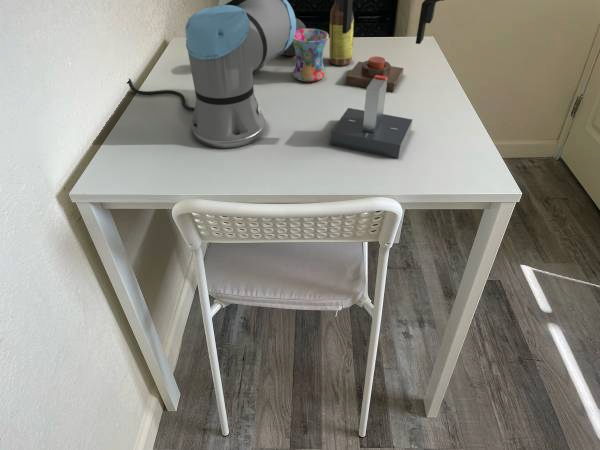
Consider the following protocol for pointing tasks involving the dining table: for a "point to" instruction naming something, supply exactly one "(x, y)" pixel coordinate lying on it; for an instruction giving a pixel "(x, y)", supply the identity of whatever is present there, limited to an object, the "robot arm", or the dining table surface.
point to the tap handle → (374, 103)
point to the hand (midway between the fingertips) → (382, 36)
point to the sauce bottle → (340, 38)
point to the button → (376, 62)
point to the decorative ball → (291, 50)
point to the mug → (309, 54)
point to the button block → (365, 75)
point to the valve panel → (371, 134)
